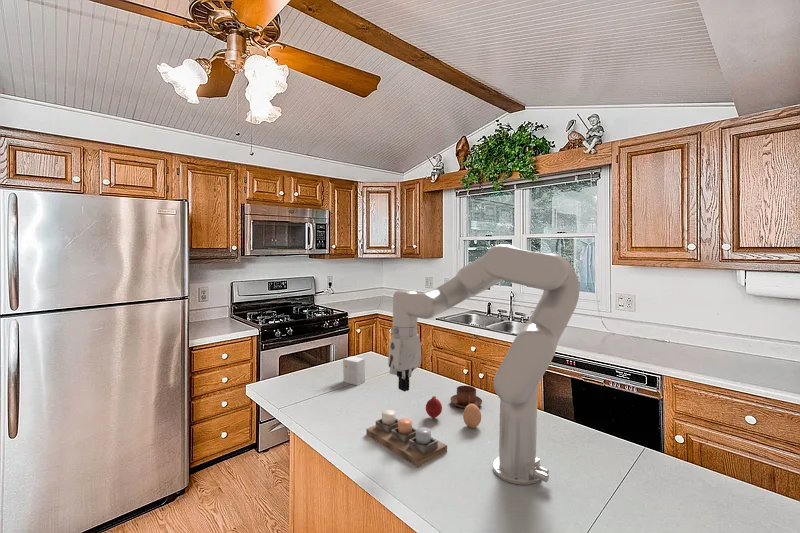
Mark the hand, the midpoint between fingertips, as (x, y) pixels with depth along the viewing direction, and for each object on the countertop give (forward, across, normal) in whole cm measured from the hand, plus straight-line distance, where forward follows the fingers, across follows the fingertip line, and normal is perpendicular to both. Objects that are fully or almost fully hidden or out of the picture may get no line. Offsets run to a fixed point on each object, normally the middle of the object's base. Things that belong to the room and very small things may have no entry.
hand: (403, 389), depth 119 cm
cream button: (+13, 0, +7) cm, 15 cm away
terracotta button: (+13, 0, -1) cm, 13 cm away
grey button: (+13, 0, -9) cm, 15 cm away
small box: (+18, +18, +53) cm, 59 cm away
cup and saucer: (+17, +37, +5) cm, 41 cm away
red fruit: (+17, +19, +5) cm, 26 cm away
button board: (+17, 0, -1) cm, 17 cm away
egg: (+17, +24, -8) cm, 30 cm away
